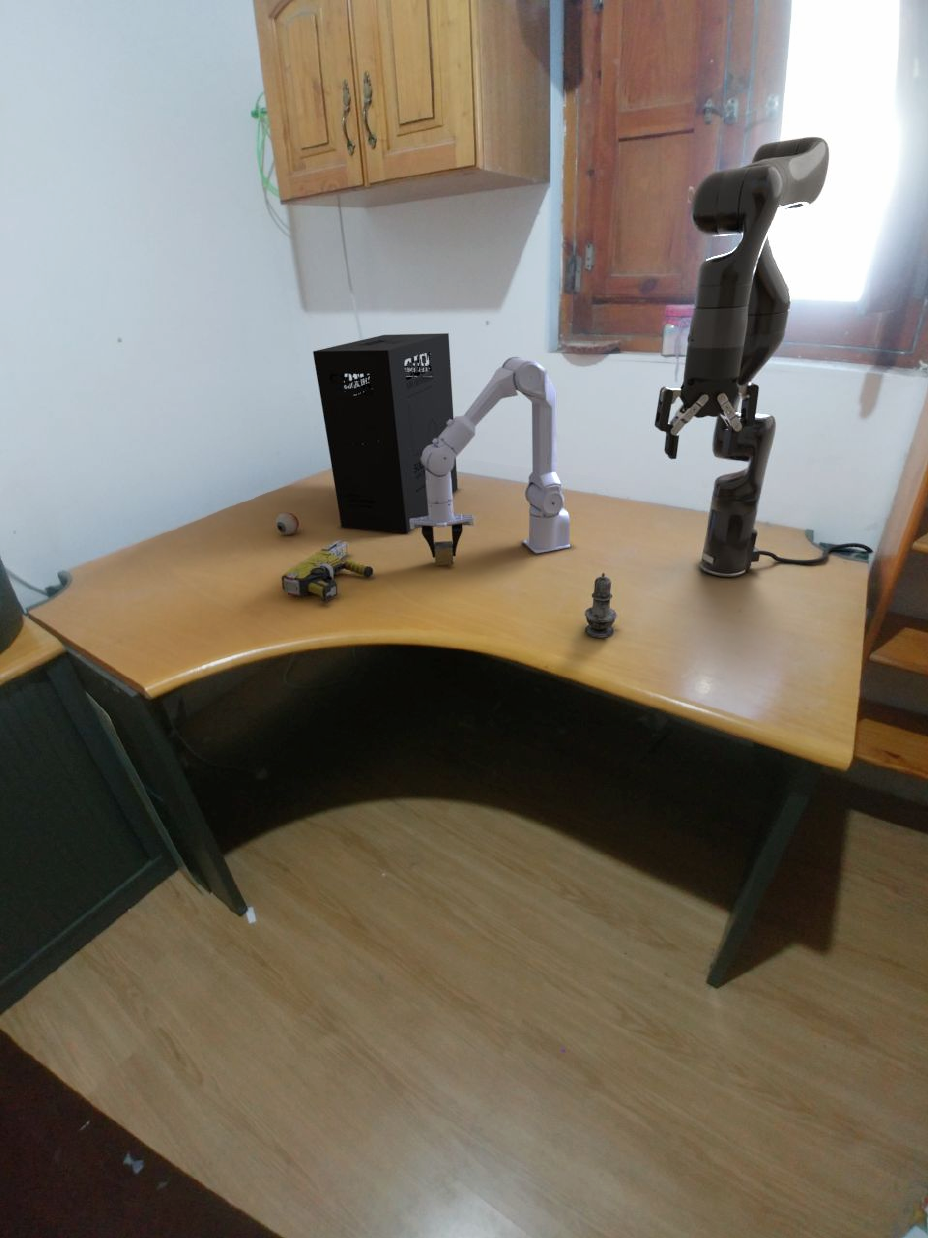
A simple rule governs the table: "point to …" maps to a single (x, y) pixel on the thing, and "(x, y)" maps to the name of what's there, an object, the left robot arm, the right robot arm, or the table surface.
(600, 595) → the grey stone finial
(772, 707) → the table surface
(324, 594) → the toy gun
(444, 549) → the grey cube
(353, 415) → the cardboard box
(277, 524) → the eyeball
